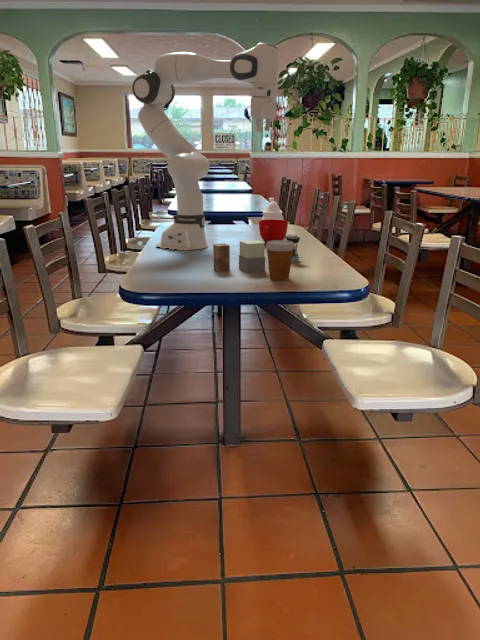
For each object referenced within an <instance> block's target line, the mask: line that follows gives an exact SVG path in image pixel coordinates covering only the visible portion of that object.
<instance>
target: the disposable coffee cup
mask: <svg viewBox="0 0 480 640" xmlns="http://www.w3.org/2000/svg"><path fill="white" fill-rule="evenodd" d="M265 248H266V253H267V254H266V255H267V263H268V274H269V275H268V276H269V279H270V280H272V281H280V282H281V281H287V280H289V279H290V272H291V267H292V262H291V261H292V255H293V250H294V248H296V245H295V246H294V243H293V242H291V241H287V240H286V239H285V240H284V239H283V240H273V241H268V242H267V244H266V245H265Z"/></svg>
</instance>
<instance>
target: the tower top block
mask: <svg viewBox="0 0 480 640" xmlns="http://www.w3.org/2000/svg"><path fill="white" fill-rule="evenodd" d="M265 244H266V243H265V242H264V241H261V240H258V239H249V240H247V239H246V240H239V255H241V256H243V257H245V258H247V259H248V258H259V257H265V246H266V245H265Z"/></svg>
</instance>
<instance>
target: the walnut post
mask: <svg viewBox="0 0 480 640" xmlns="http://www.w3.org/2000/svg"><path fill="white" fill-rule="evenodd" d="M212 246H213V247H212V248H213V249H212V251H213V252H212V253H213V254H212V255H213V256H212V257H213V270H214V271H215V270H216V272H217V273H221V272H230V271H231V269H230V268H231V265H230V263H231V262H230V261H231V260H230V259H231V258H230V253H231V251H230V249H231V247H230V246H231V245H230V244H227V243H214V244H213V245H212Z"/></svg>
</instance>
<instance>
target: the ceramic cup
mask: <svg viewBox="0 0 480 640" xmlns="http://www.w3.org/2000/svg"><path fill="white" fill-rule="evenodd" d="M258 228H259V229H258V230H259V231H258V232H259V233H260V235H261V236H260V235H259V236H260V237H261V239H262V240H263V241H262V242H264V243H265V244H266V245H267V242H268V241H273V240H284V239H286V237H287V236H286V235H287V233H288V232H287V231H288V220H285V219H283V220H262V219H261V220H259V221H258Z"/></svg>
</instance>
